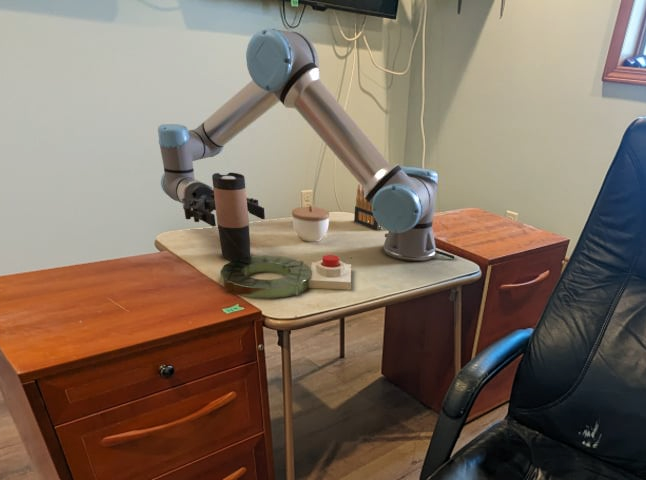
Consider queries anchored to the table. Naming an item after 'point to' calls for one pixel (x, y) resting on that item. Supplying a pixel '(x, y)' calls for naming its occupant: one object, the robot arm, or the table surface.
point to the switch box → (330, 276)
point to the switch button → (330, 261)
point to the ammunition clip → (364, 211)
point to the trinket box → (310, 223)
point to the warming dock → (241, 284)
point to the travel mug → (232, 215)
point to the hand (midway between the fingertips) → (239, 217)
